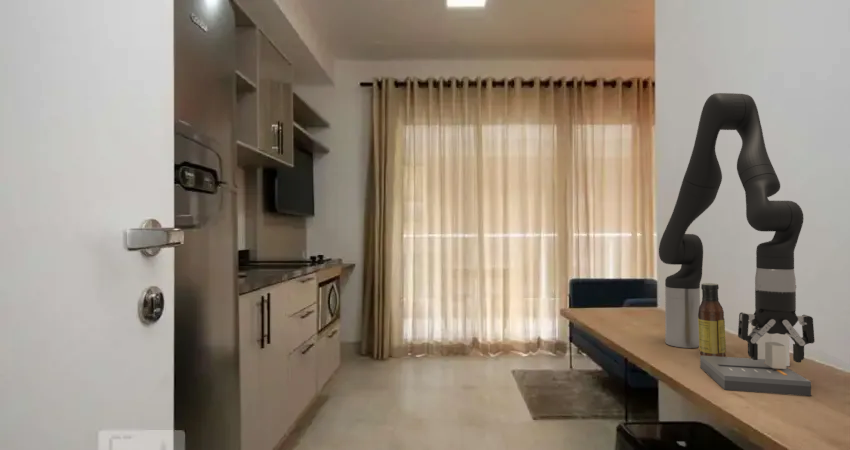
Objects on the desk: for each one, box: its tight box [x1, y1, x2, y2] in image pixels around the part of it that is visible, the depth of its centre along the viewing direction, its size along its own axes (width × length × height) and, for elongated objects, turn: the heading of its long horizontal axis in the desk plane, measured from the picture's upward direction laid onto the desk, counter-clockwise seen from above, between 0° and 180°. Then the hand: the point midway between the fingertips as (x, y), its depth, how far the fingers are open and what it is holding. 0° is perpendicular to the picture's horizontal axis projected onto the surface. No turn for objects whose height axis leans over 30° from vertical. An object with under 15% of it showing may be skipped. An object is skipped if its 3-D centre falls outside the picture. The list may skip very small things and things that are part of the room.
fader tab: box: [765, 342, 786, 370], centre depth 112 cm, size 4×3×6 cm, turn 166°
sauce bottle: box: [698, 282, 727, 357], centre depth 134 cm, size 7×6×20 cm
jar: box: [750, 319, 791, 368], centre depth 129 cm, size 9×8×12 cm
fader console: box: [699, 354, 812, 397], centre depth 113 cm, size 18×16×3 cm
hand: (775, 360), depth 112 cm, fingers open, 8 cm apart
